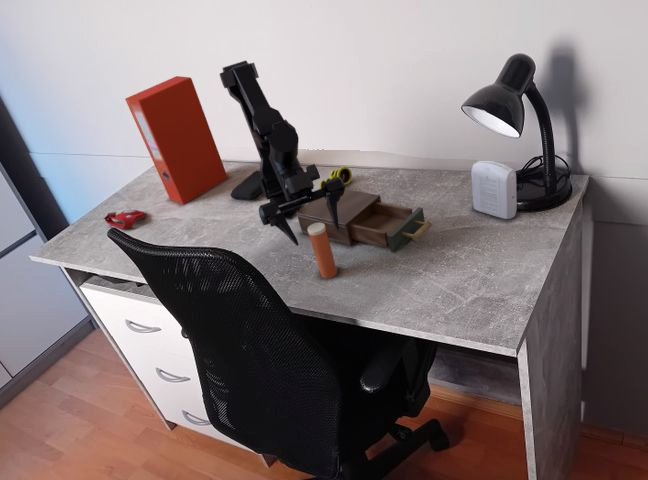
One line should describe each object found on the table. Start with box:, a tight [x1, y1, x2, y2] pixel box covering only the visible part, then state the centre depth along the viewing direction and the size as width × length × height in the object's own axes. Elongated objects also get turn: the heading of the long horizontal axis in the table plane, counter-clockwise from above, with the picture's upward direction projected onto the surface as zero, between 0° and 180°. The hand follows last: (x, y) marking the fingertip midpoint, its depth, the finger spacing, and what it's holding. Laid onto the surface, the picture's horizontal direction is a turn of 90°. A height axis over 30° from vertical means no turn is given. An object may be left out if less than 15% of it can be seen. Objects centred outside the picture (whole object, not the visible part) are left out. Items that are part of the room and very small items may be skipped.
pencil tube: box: [307, 222, 338, 279], centre depth 115 cm, size 4×4×12 cm
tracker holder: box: [102, 209, 146, 230], centre depth 159 cm, size 12×4×10 cm
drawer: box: [348, 201, 433, 254], centre depth 123 cm, size 19×12×4 cm, turn 51°
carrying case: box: [230, 170, 264, 202], centre depth 159 cm, size 11×3×15 cm
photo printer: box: [470, 160, 518, 220], centre depth 121 cm, size 10×4×12 cm, turn 42°
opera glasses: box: [318, 166, 353, 189], centre depth 150 cm, size 10×5×5 cm, turn 149°
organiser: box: [295, 188, 383, 247], centre depth 132 cm, size 16×14×6 cm
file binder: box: [124, 75, 228, 205], centre depth 160 cm, size 8×17×32 cm, turn 138°
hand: (317, 237), depth 114 cm, fingers open, 9 cm apart
